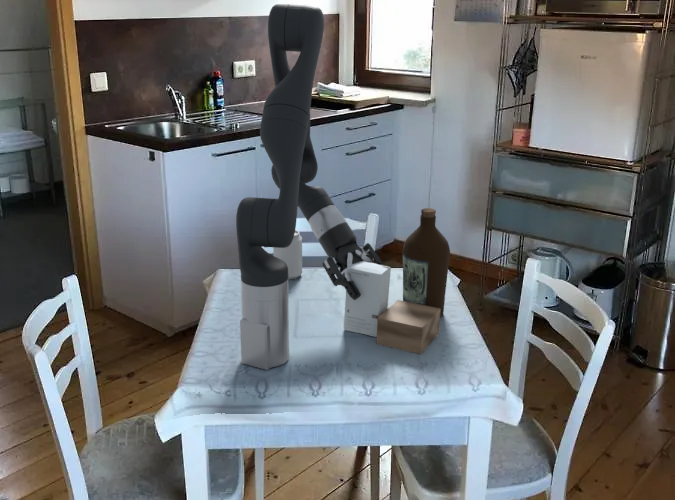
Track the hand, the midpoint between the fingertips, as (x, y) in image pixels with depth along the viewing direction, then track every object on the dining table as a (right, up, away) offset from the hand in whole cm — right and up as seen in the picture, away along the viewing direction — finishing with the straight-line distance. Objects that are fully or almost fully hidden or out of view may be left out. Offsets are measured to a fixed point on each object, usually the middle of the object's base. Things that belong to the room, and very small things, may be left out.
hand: (370, 292), depth 159 cm
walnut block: (+8, -10, -1) cm, 13 cm away
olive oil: (+13, -6, +12) cm, 18 cm away
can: (-20, +2, +34) cm, 40 cm away
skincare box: (-1, -9, +4) cm, 9 cm away
